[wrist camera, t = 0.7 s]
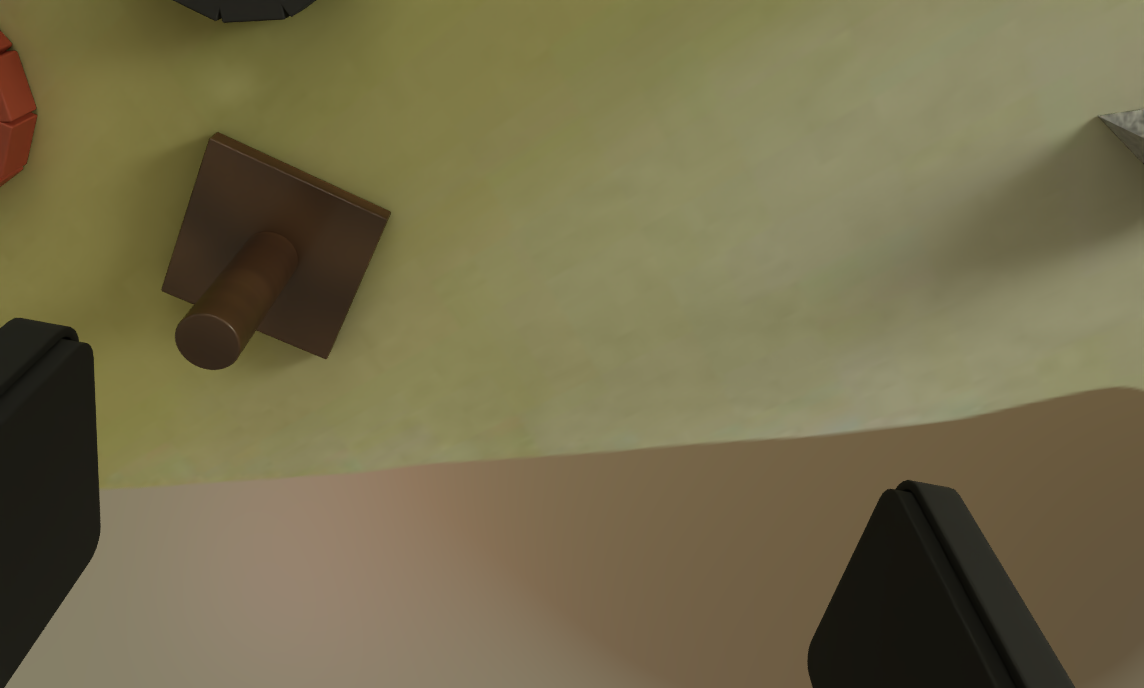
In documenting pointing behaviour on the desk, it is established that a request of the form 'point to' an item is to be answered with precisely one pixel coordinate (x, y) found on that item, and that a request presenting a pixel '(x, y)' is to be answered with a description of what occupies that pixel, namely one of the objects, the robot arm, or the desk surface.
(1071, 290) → the desk surface
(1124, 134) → the grey angular piece
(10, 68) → the brick ring
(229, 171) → the peg stand
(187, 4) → the charcoal ring
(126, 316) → the desk surface
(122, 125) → the desk surface
